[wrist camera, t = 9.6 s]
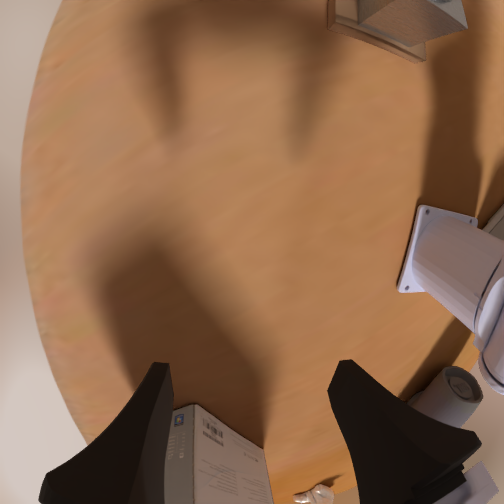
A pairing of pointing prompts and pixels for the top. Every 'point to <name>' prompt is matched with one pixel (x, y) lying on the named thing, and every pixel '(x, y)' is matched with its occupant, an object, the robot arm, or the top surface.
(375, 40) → the stand
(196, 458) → the hard drive box
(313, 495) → the seated beast figurine
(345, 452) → the top surface
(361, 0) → the housing
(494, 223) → the digital clock
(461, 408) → the bluetooth speaker
